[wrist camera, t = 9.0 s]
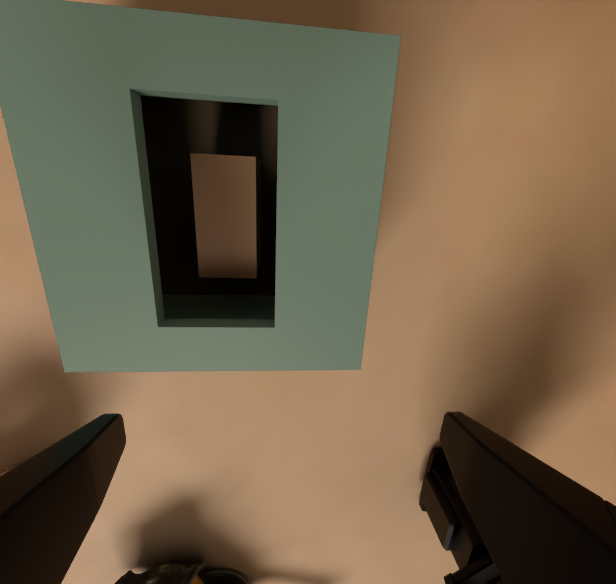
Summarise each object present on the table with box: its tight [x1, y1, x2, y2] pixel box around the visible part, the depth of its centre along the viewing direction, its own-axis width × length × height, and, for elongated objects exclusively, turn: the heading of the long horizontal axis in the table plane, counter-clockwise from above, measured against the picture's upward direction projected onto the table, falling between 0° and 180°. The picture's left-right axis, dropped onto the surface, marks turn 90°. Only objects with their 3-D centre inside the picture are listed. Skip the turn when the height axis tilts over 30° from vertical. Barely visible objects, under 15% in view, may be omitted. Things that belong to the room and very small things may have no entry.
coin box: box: [0, 0, 401, 372], centre depth 14 cm, size 12×12×7 cm
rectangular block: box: [190, 153, 262, 278], centre depth 15 cm, size 2×5×5 cm, turn 177°
